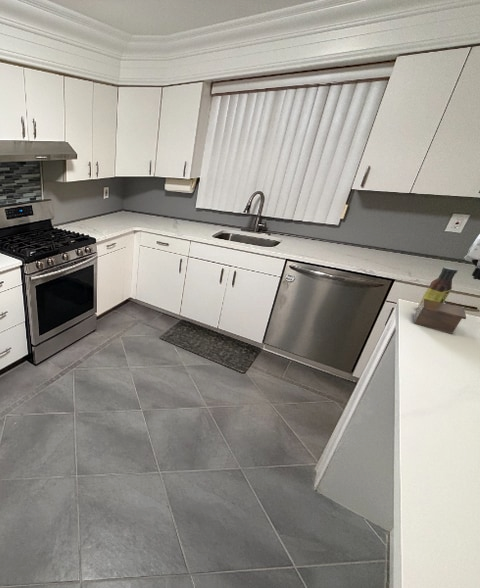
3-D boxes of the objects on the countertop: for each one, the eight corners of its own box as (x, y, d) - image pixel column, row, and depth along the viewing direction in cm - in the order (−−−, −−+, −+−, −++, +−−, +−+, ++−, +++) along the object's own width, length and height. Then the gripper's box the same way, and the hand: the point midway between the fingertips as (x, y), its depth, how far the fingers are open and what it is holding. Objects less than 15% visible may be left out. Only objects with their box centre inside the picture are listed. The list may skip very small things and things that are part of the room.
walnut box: (450, 324, 123) (459, 309, 120) (451, 334, 116) (461, 318, 113) (414, 314, 129) (422, 300, 126) (414, 323, 122) (422, 308, 120)
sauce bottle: (437, 317, 128) (463, 272, 119) (416, 312, 131) (440, 268, 123) (435, 311, 132) (461, 268, 123) (415, 306, 136) (439, 264, 127)
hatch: (462, 310, 119) (464, 308, 119) (465, 319, 112) (466, 317, 112) (422, 300, 126) (423, 298, 126) (422, 308, 119) (423, 306, 119)
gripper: (540, 230, 101) (507, 281, 109) (472, 222, 110) (446, 270, 118) (546, 234, 96) (511, 287, 104) (474, 226, 105) (446, 275, 113)
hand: (476, 278), depth 111 cm, fingers closed
